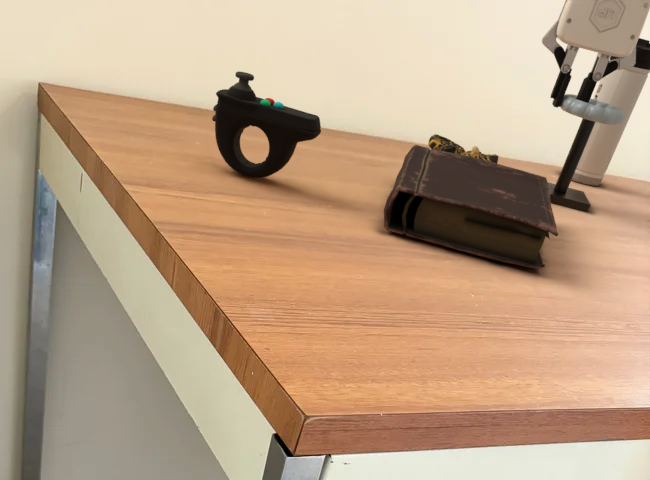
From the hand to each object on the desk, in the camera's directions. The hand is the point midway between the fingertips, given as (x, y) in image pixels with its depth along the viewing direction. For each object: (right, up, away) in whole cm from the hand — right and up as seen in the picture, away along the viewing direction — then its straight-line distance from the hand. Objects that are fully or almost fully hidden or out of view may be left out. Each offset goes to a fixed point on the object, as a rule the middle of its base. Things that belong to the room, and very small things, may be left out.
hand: (566, 107), depth 113 cm
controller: (-43, -17, -17) cm, 49 cm away
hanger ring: (+3, 0, 0) cm, 3 cm away
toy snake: (-13, -4, +9) cm, 16 cm away
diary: (-18, -22, -15) cm, 32 cm away
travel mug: (+11, -1, +21) cm, 24 cm away
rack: (+1, -10, +7) cm, 12 cm away
